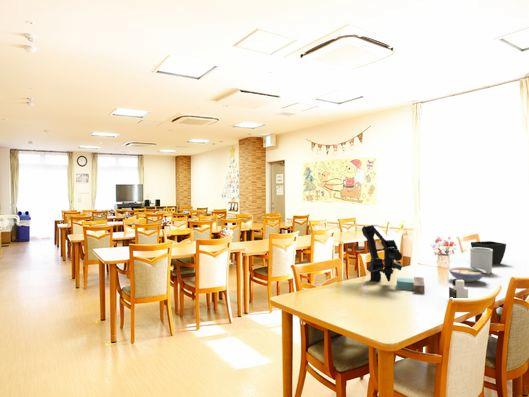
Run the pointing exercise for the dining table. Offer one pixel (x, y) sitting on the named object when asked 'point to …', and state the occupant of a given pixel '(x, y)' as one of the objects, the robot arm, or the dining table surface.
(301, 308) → the dining table surface
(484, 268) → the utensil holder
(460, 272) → the ramen bowl
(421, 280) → the brown bar
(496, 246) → the flower pot
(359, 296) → the dining table surface
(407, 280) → the teal block
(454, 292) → the medicine bottle
